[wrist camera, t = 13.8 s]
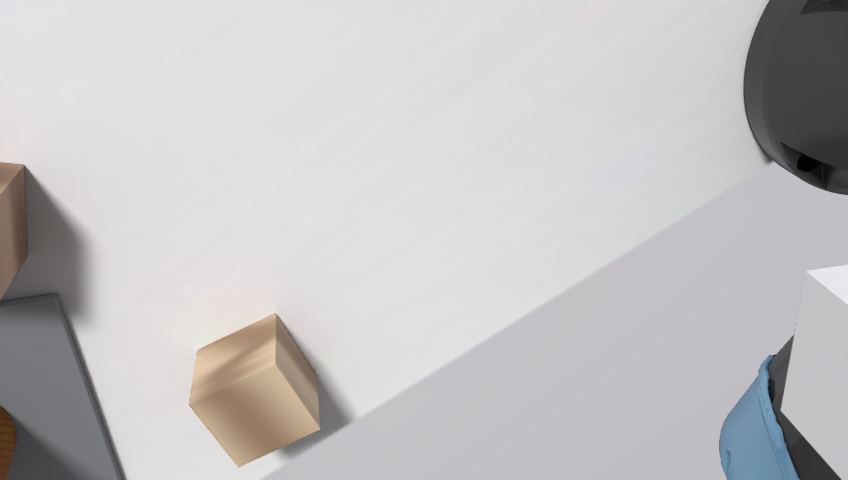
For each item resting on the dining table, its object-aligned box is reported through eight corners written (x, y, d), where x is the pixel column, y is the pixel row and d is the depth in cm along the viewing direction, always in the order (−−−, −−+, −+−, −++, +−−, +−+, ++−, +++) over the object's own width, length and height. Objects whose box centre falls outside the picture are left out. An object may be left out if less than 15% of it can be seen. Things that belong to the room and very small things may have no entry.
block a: (275, 312, 44) (275, 364, 39) (316, 373, 46) (320, 429, 42) (197, 349, 44) (188, 404, 40) (242, 408, 46) (238, 467, 42)
